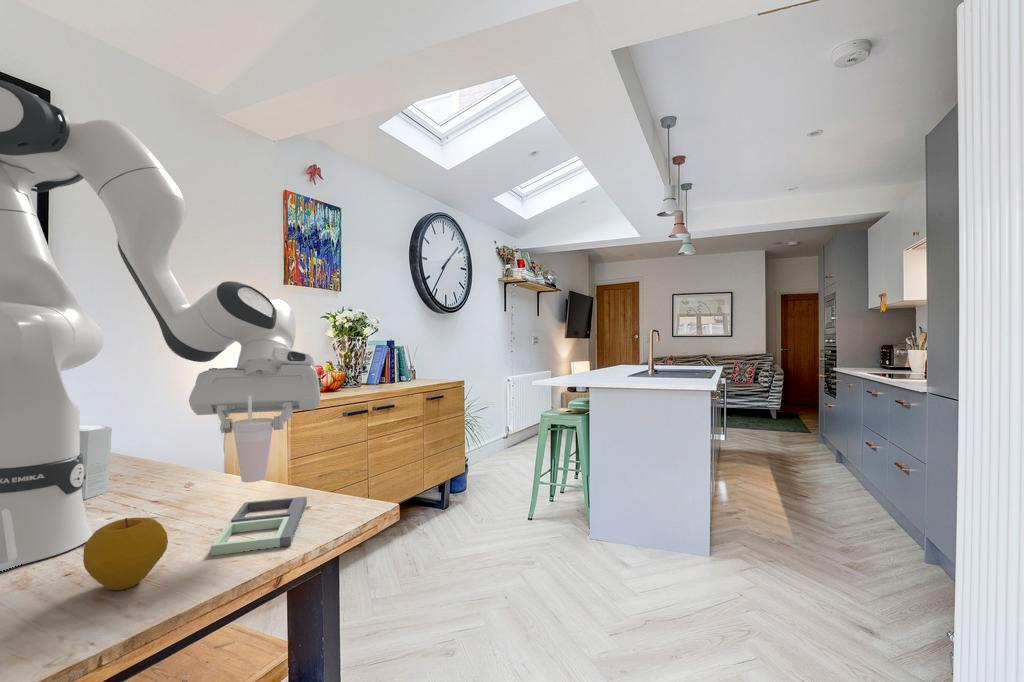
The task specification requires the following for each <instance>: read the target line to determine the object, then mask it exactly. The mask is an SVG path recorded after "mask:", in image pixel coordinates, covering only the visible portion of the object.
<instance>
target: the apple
mask: <svg viewBox="0 0 1024 682" xmlns="http://www.w3.org/2000/svg"><path fill="white" fill-rule="evenodd" d="M168 540H169V539H168V533H167V531H166V529H165V528H164V527H163V525H162V524H161V523H160V522H159V521H157V520H156V519H154V518H149V517H125V518H123V519H118V520H114V521H112V522H110V523H109V522H108V523H107V524H105V525H103V526H101V527H100V528H98V529H97V530H95V531H94V532H93V535H92V536H91V537H90V538H89V540H88V541H86V542H85V545H84V547H83V555H82V556H83V560H82V561H83V566H84V569H85V570H86V572H87V573H88V574H89V576H90V577H91V578H93V579H94V580H95V581H96V582H97V583H99V584H100V585H102V586H103V587H105V588H106V589H108V590H113V591H123V590H127V589H130V588H132V587H134V586H136V585H137V584H138V583H140V582H141V581H142V580H144V579H145V578H146V577H147V576H148V574H149V573H150V572H151V571H152V570H153V568H154V567H155V566H156V564H157V563H158V562H159V561H160V560H161V558H162V557H163V556H164V554H165V552H166V551H167V548H168V544H169V541H168Z"/></svg>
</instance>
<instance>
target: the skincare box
mask: <svg viewBox="0 0 1024 682" xmlns="http://www.w3.org/2000/svg"><path fill="white" fill-rule="evenodd" d="M112 429H113V427H112V426H104V425H102V426H101V425H80V453H81V454H83V467H84V478H83V486H82V488H81V489H82V497H83V501H84V500H87V499H91V498H94V497H97V496H100V495H103V494H106V493H109V491H110V489H109V487H110V468H111V454H112V453H111V450H112V447H111V446H112V434H113V433H112Z"/></svg>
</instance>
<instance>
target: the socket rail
mask: <svg viewBox="0 0 1024 682" xmlns="http://www.w3.org/2000/svg"><path fill="white" fill-rule="evenodd" d="M307 499H308V497H307V496H298V497H287V498H276V499H267V500H266V499H264V500H259V501H258V500H255V501H254V500H253V501H245V502H244V503H243V504H242V505H241V507H240V508H239V509H238V510H237V512H236V513H235V514H234V515H233V517H232V519H230V522H228V523H227V525H226V526H225V527H224V529H222V531H221V532H220V534H219V535H218V536H217V538H216V539H215V540H214V542H212V544H211V545H210V557H212V556H220V555H225V554H226V555H227V554H235V553H244V552H243V551H245V552H251V551H250V550H253V551H258V550H257V549H261V550H266V548H269V549H274V548H273V547H277V548H282V547H281V546H285V547H290V545H291V546H292V544H293V540H294V539H293V538H295V536H294V535H296V533H297V531H296V530H298V528H299V525H300V523H301V520H302V517H303V515H302V514H304V512H305V510H304V509H306V507H305V506H307V504H308V502H307V501H308V500H307ZM280 507H282V508H288V509H287V511H286V512H281V513H280V512H279V513H272V514H271V513H270V514H262V515H261V514H260V515H251V516H246V515H247V513H248V512H250V511H251V512H252V511H261V510H271V509H270V508H272V509H280ZM300 519H301V520H300ZM299 522H300V523H299ZM297 527H298V528H297ZM270 529H271V530H272V529H278V530H277V531H276V534H275V535H274V536H267V537H260V538H250V539H243V540H241V539H240V540H234V541H228V540H229V539H230V538H231V536H232V535H233V534H234V533H242V532H251V531H252V532H253V531H263V530H270ZM295 532H296V533H295ZM291 543H292V544H291Z"/></svg>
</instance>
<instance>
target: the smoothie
mask: <svg viewBox="0 0 1024 682" xmlns="http://www.w3.org/2000/svg"><path fill="white" fill-rule="evenodd" d="M273 419H274V418H268V417H256V418H253V412H252V396H248V413H247V418H246V419H239V420H236V421H233V423H232V428H231V429H232V430H233V434H234V435H233V436H234V441H235V443H234V444H235V449H236V454H237V460H238V467H239V474H240V479H241V482H242V483H255V482H261V481H263V480H266V479H267V476H268V468H269V460H270V453H271V444H272V435H273V429H274V427H273V421H274V420H273Z"/></svg>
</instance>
